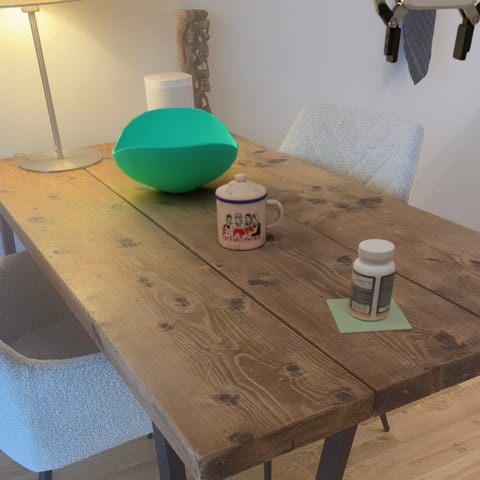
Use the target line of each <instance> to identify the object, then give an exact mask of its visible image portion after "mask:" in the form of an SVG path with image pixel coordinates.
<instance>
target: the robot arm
mask: <svg viewBox="0 0 480 480" xmlns="http://www.w3.org/2000/svg"><path fill="white" fill-rule="evenodd" d="M372 1H373V5H374V7H375V8H374V9H375V12H376V14H377V16H379V18H380V19H381V21H382V22H383V24H384V26H385V27H386V28H385V36H384V45H383V56H384V57H385V61H386V62H388V63H390V64H396V63H397V62H398V59H399V53H400V52H399V51H400V43H401V36H402V28H401V27H400V23H401V21H402V20H403V19H404V17H405V16H406V15H407V14H408V13H409V11H410V10H415V11H418V10H419V11H427V10H428V11H429V10H457V11H458V14H459V16H460V18H461V23H459V24H458V26H457V30H456V34H455V35H456V36H455V41H454V45H453V50H452V51H453V52H452V58H453V59H454V60H457V61H466V59H467V55H468V53H470V51H471V47H472V43H473V37H474V32H475V28H476V27H475V26H477V25H478V24H479V23H480V1H478V0H394V2H395V4H394V5H393V7H392V8H390V6H389V5H388V4H387V1H386V0H372Z"/></svg>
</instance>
